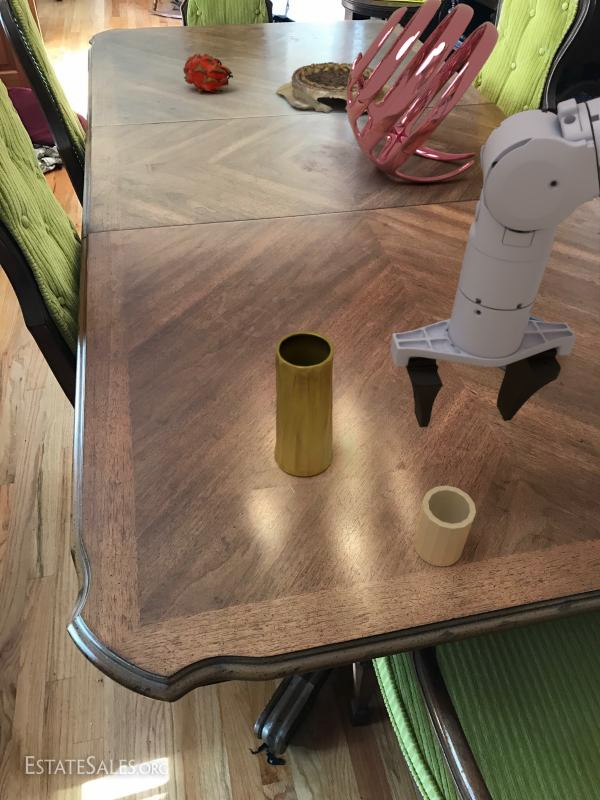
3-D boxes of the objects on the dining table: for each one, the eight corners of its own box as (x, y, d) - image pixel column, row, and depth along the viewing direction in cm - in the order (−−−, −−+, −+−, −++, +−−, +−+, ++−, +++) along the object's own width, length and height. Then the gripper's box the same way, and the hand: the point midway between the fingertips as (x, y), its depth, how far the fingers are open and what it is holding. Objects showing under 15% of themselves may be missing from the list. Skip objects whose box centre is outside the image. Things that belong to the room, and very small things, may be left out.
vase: (282, 483, 61) (279, 376, 51) (268, 439, 65) (263, 333, 56) (340, 470, 62) (349, 364, 52) (322, 428, 67) (327, 322, 57)
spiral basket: (565, 46, 104) (445, -72, 97) (526, 144, 90) (385, 14, 84) (456, 150, 127) (354, 60, 121) (412, 239, 114) (295, 144, 108)
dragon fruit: (183, 94, 148) (231, 105, 148) (173, 81, 140) (223, 93, 139) (191, 57, 147) (239, 69, 146) (181, 41, 138) (232, 54, 138)
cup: (468, 537, 57) (482, 497, 53) (452, 575, 54) (466, 536, 50) (423, 517, 58) (433, 478, 54) (406, 553, 56) (415, 515, 51)
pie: (265, 82, 150) (264, 59, 147) (369, 72, 156) (371, 50, 153) (299, 122, 131) (299, 98, 127) (416, 110, 137) (419, 86, 133)
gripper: (567, 255, 49) (523, 380, 59) (390, 264, 48) (374, 391, 57) (609, 306, 44) (553, 434, 54) (411, 318, 43) (390, 447, 52)
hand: (462, 416), depth 55 cm, fingers open, 7 cm apart
